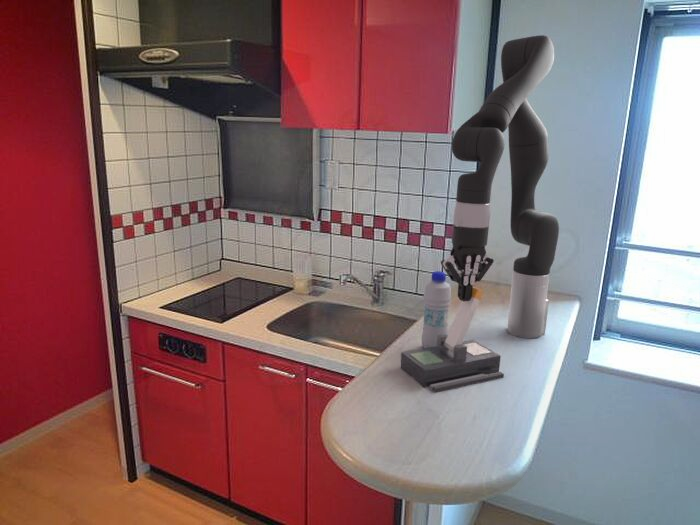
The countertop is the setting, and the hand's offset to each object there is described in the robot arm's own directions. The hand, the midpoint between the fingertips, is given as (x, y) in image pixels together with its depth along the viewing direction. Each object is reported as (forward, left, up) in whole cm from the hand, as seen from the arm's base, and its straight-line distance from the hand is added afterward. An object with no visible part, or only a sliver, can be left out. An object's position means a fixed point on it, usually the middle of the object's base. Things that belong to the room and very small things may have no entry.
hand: (464, 300), depth 117 cm
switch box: (+2, 0, -17) cm, 17 cm away
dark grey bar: (+2, +7, -17) cm, 18 cm away
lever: (+2, 0, -11) cm, 11 cm away
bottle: (-1, -12, -17) cm, 21 cm away
